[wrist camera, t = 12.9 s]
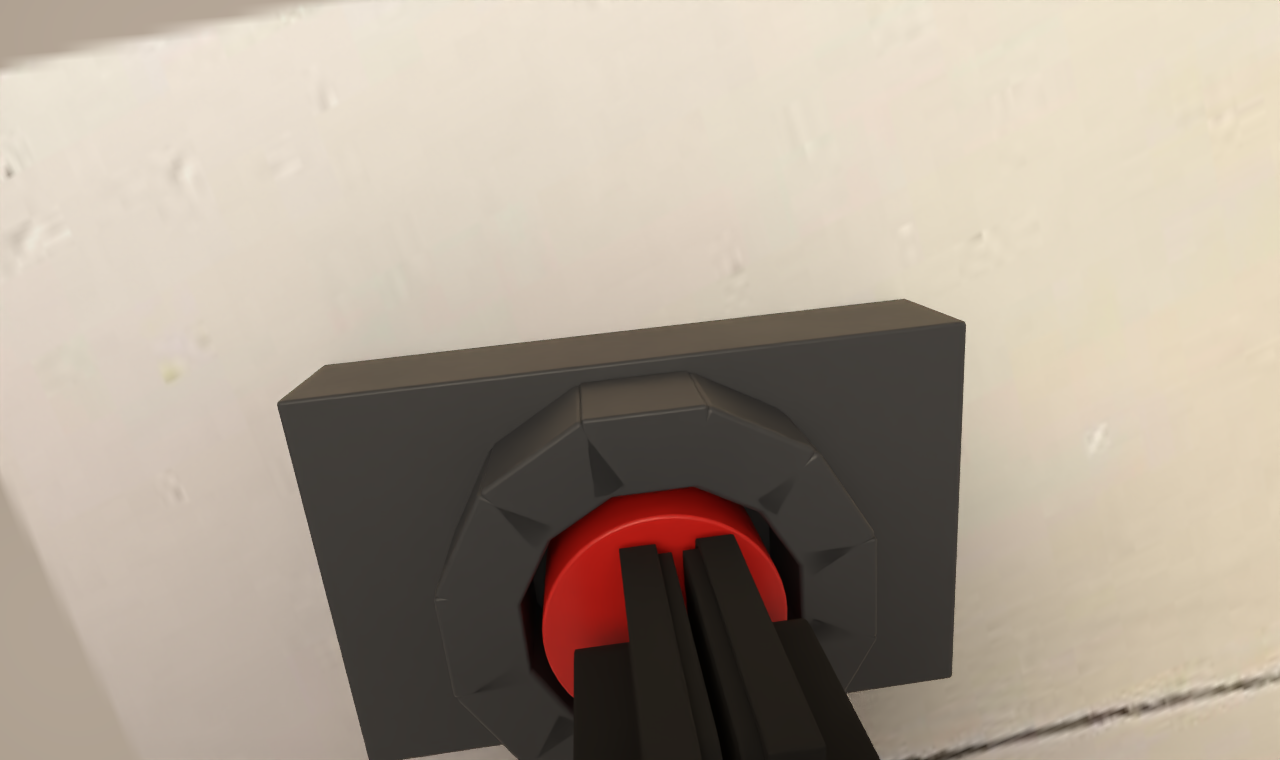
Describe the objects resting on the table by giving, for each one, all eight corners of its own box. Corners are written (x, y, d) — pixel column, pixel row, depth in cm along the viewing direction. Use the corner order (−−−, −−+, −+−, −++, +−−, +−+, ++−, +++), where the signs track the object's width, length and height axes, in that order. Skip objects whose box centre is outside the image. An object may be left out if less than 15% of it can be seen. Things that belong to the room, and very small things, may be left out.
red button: (560, 668, 12) (559, 745, 11) (531, 479, 11) (525, 533, 10) (762, 639, 13) (792, 710, 11) (753, 451, 11) (784, 499, 10)
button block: (397, 682, 15) (337, 858, 11) (323, 364, 13) (218, 445, 9) (901, 610, 16) (1009, 752, 12) (905, 298, 14) (1037, 348, 10)
